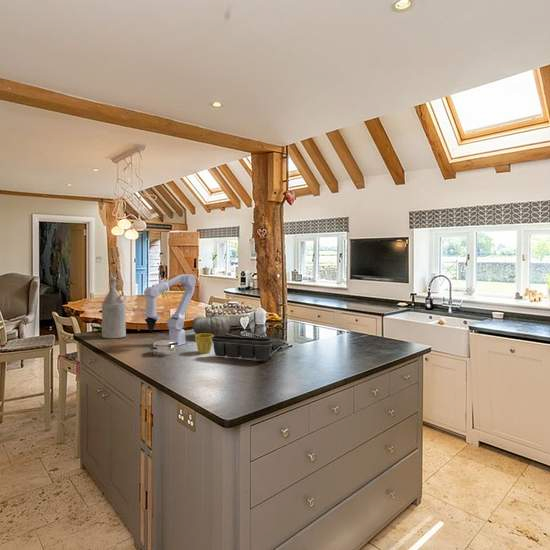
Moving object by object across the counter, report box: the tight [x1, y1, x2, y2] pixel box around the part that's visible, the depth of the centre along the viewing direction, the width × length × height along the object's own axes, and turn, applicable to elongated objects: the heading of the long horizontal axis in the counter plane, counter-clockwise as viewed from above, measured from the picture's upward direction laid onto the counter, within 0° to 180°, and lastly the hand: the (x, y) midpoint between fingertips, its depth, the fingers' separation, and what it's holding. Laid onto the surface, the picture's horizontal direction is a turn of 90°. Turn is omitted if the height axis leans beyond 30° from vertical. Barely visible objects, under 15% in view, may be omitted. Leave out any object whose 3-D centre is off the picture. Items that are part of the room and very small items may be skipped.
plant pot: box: [194, 334, 214, 355], centre depth 223 cm, size 10×10×10 cm
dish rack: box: [211, 329, 287, 360], centre depth 226 cm, size 34×44×12 cm
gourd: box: [191, 311, 231, 336], centre depth 265 cm, size 25×25×17 cm
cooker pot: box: [149, 342, 179, 357], centre depth 219 cm, size 17×12×5 cm
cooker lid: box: [152, 339, 176, 346], centre depth 218 cm, size 12×14×1 cm
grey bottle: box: [101, 276, 127, 339], centre depth 259 cm, size 13×17×40 cm
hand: (151, 330), depth 229 cm, fingers closed
